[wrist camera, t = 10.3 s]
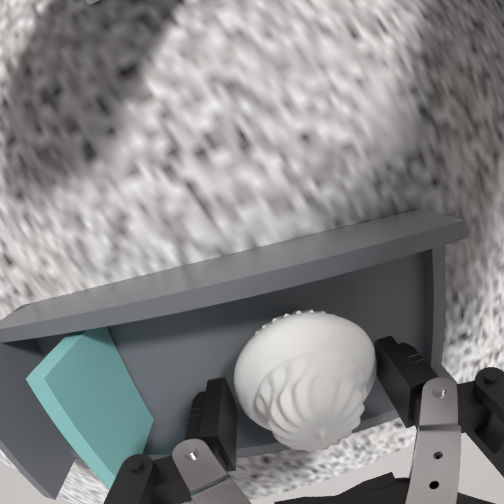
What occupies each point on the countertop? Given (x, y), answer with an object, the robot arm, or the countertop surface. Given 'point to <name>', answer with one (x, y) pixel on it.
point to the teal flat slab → (93, 401)
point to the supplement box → (91, 1)
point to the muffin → (306, 378)
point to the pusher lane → (228, 328)
